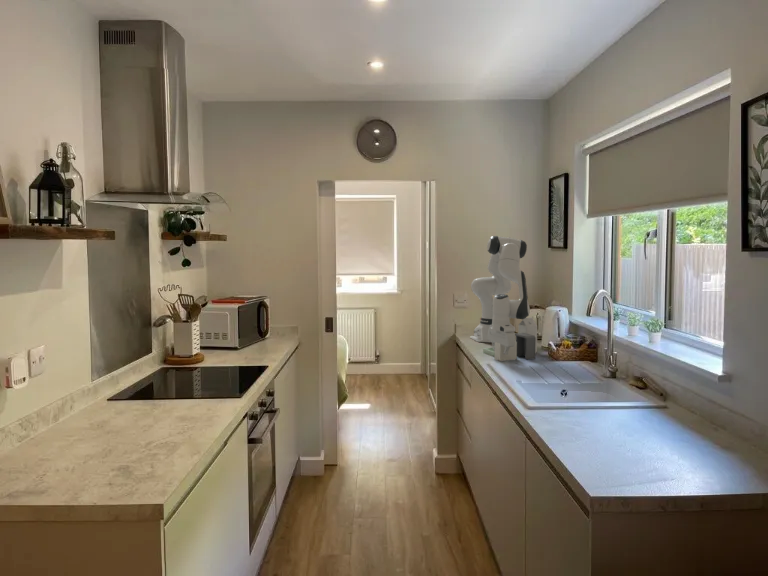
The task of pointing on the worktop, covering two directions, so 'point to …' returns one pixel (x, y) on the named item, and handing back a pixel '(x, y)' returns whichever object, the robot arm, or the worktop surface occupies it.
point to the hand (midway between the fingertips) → (500, 352)
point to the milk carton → (529, 328)
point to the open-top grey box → (525, 345)
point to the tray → (489, 351)
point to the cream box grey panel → (500, 351)
